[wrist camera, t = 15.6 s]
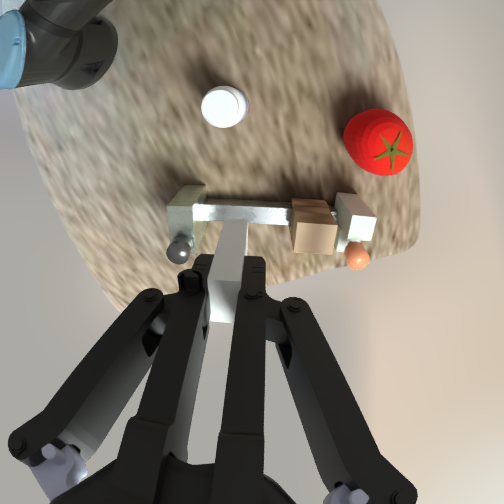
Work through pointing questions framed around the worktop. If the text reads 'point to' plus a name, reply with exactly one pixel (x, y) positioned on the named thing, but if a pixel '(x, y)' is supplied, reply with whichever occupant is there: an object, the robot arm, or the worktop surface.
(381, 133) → the tomato
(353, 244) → the cylinder
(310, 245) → the block
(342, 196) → the pale stepped block
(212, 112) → the pill bottle
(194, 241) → the rail
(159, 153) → the worktop surface
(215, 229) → the worktop surface
